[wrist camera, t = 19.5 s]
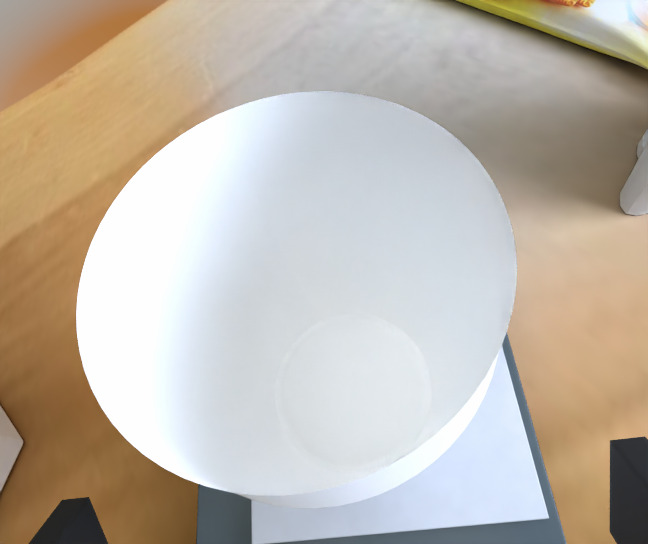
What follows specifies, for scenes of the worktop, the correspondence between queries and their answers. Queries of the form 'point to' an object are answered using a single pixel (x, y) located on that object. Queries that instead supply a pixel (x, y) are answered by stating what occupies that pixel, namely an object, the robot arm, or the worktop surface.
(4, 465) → the jar
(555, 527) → the scale
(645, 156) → the tall pale column
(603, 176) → the worktop surface
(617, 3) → the food package
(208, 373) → the cup
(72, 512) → the robot arm
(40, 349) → the worktop surface
